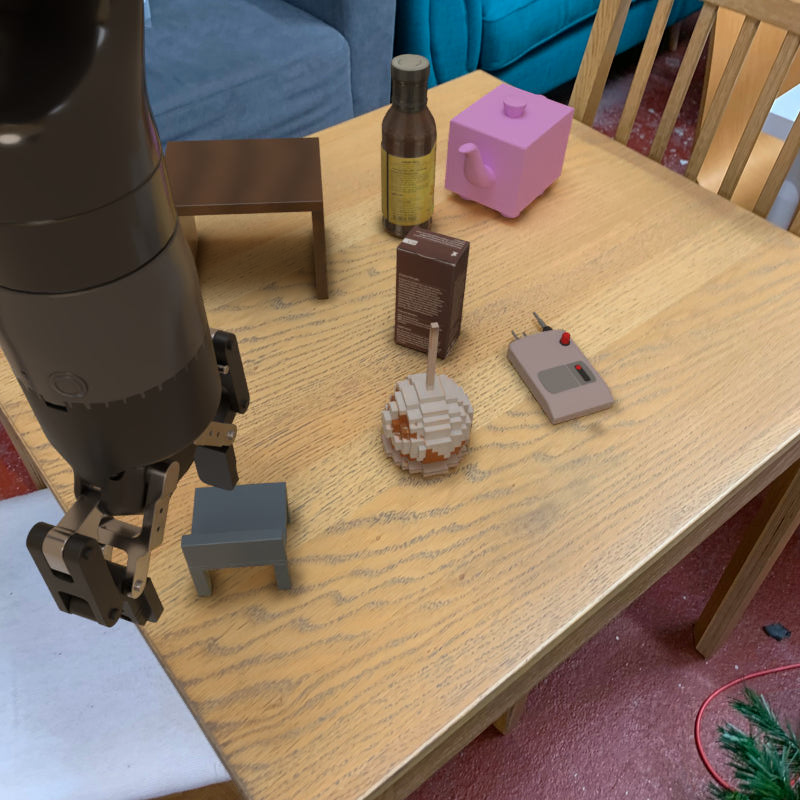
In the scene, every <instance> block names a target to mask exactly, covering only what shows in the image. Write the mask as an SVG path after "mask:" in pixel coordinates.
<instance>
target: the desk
mask: <svg viewBox="0 0 800 800" xmlns="http://www.w3.org/2000/svg"><path fill="white" fill-rule="evenodd" d="M164 158H165V162H166V166H167V171H168V175H169V180H170V184H171V189H172V193H173V198H174V202H175V207H176V211H177V214H178V217H179V221H180V224H181V227H182V229H183V232H184V235H185V237H186V240H187V242H188V244H189V247H190V249H191V252H192V255H193V258H194V261H195V264H196V263H197V262H196V261H197V254H198V244H199V233H198V228H197V224H196V220H195V217H199V216H200V217H201V216H221V215H222V216H224V215H225V216H227V215H229V216H230V215H254V214H283V213H307V212H308V213H309V212H311V225H312V239H313V254H314V255H313V257H314V269H315V285H316V298H317V300H328V299H329V284H328V283H329V282H328V265H327V247H326V245H327V244H326V230H325V229H326V228H325V227H326V226H325V210H324V192H323V179H322V177H323V176H322V162H321V147H320V137H319V136H314V137H313V136H312V137H311V136H310V137H280V138H279V137H277V138H275V137H273V138H271V137H270V138H241V139H239V138H238V139H237V138H235V139H203V140H202V139H201V140H199V139H198V140H168V141H167V142H166V146H165V151H164Z"/></svg>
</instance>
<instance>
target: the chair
mask: <svg viewBox="0 0 800 800" xmlns="http://www.w3.org/2000/svg"><path fill="white" fill-rule="evenodd" d="M192 507H193V508H192V518H191V528H190V529H191V530H190V533H189V534H182V535H181V537H180V538H181V539H180V549H181V551H182V554H183V556H184V559H185V563H186V564H187V569H188V571H189V575H190V577H191V579H192V582H193V585H194V588H195V590H196V591H195V592H196V594H197V596H198V597H199V598H201V597H210V596H212V590H213V583H212V581H211V576H210V574H209V571H213V570H225V569H226V570H227V569H237V568H238V569H239V568H250V567H253V568H254V567H264V566H265V567H266V566H273V569H274V575H275V580H276V585H277V590H278V591H286V590H291V589H292V577H291V571H290V566H289V565H290V564H289V559H288V549H287V548H288V547H287V546H288V545H287V544H288V543H287V537H288V535H287V528H288V527H287V524H289V523H291V509H290V503H289V495H288V489H287V482H286V481H277V482H263V483H262V482H261V483H259V482H258V483H246V484H236V486H235V487H234V489H233V490H232V491H228V490H224V489H221V488H217V487H214V486H202V487H195V488H194V497H193V506H192Z"/></svg>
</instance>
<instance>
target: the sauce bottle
mask: <svg viewBox="0 0 800 800" xmlns="http://www.w3.org/2000/svg"><path fill="white" fill-rule="evenodd" d="M430 74H431V64H430V61H429V60H428V59H427V57H425V56H423V55H419V54H412V53H407V54H406V53H405V54H400V55H397V56H394V57H393V58H392V59H391V61H390V76H391V78H392V94H391V105H390V107H389V108H388V110H387V111H386V112H385V114H384V116H383V118H382V121H381V142H380V185H381V186H380V188H381V191H380V192H381V193H380V195H381V215H382V218H381V221H382V225H383V228H384V229H385V231H386V232H387V233H388V234H390V235H391V236H393V237H394V236H395V237H398V238H403V239H404V238H405V237H406V236H407V235H408V233H409V232H410V231H411V230H412V228H413V227H414V226H416V227H419V228H422V229H426V230H429V231H430V228H431V225H432V224H433V223H432V222H433V214H434V208H435V184H436V183H435V181H436V165H437V164H436V163H437V159H436V158H437V142H438V131H437V123H436V119H435V117H434V115H433V113H432V112H431V110H430V108H429V106H428V101H429V97H428V90H429V87H428V86H429V85H428V82H429V77H430Z"/></svg>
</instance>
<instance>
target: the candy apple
mask: <svg viewBox="0 0 800 800" xmlns="http://www.w3.org/2000/svg"><path fill="white" fill-rule="evenodd" d="M438 335H439V325H438V323H437V322H436V323H430V335H429V348H428V353H427V361H426V362H427V363H426V365H427V366H426V372H420V373H413V374H407V375H406V378H405V379H404V380H398V381H395V385H394V389H393V390H394V391H393V392H394V393H393V394H390V395H389V402H388V404H384V410H381V416H380V417H381V418H380V419H381V422H382V431H383V433H382V434H381V435H380V440H381V443H382V447H383V451H384V454H385V458H391V457H392V460H393V465H394V466H395V467H397V466H401V470H402V471H404V470H408V471H409V474H410V475H412V474H418V473H422V476H423V478H425V477H431V476H436V475H442V474H447V473H449V468H453V467H458V466H459V464H460V461H463V459H464V455H467V454H468V449H467V446H466V445H469V444H470V441H471V440H470V434H471V430H472V427H473V421H474V414H475V411H474V408H473V405H472V403H471V401H470V398H469V395H468V393H465V390H464V387H463V385H460V386H459V385H458V383H457V382H455V381H454V378H453V377H449V375H448V374H445V373H443V374H438V375H437V373H436V366H437V357H438V356H437V346H438Z"/></svg>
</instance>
